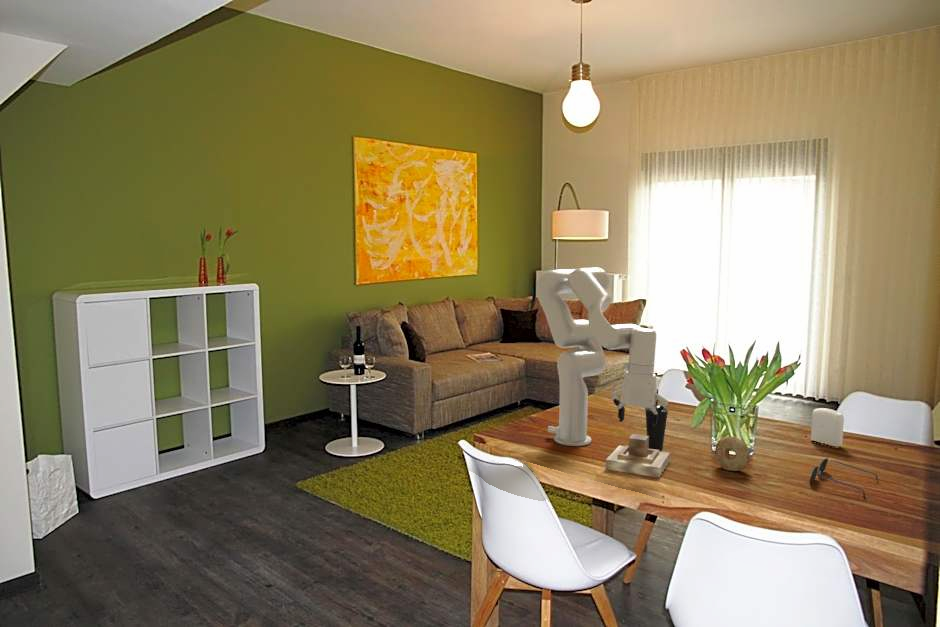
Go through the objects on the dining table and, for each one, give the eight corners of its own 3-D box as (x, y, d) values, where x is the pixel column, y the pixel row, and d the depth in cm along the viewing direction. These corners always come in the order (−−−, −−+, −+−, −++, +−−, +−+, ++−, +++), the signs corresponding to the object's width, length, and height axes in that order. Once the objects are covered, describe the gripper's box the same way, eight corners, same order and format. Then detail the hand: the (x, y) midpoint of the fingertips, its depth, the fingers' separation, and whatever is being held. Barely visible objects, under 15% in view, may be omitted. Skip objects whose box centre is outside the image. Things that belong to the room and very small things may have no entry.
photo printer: (808, 441, 239) (810, 406, 237) (816, 439, 241) (818, 405, 239) (836, 449, 230) (838, 413, 228) (844, 447, 232) (846, 411, 231)
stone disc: (711, 467, 211) (713, 435, 210) (716, 464, 214) (718, 433, 212) (746, 475, 204) (747, 442, 203) (750, 472, 207) (752, 440, 206)
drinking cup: (667, 452, 225) (670, 392, 223) (643, 451, 227) (645, 391, 224) (666, 445, 233) (668, 387, 230) (642, 444, 234) (644, 386, 232)
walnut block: (628, 457, 211) (628, 438, 210) (632, 452, 215) (632, 433, 215) (644, 459, 209) (645, 440, 208) (648, 454, 213) (648, 436, 212)
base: (605, 469, 209) (606, 455, 208) (619, 454, 223) (619, 441, 222) (659, 477, 202) (659, 463, 201) (669, 461, 216) (670, 448, 215)
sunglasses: (823, 471, 209) (826, 456, 208) (877, 489, 200) (881, 473, 199) (806, 486, 196) (810, 470, 195) (864, 506, 187) (868, 489, 186)
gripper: (609, 367, 210) (606, 421, 212) (667, 375, 202) (663, 431, 205) (616, 363, 216) (612, 415, 219) (672, 370, 209) (668, 424, 211)
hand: (637, 423), depth 212 cm, fingers open, 9 cm apart
